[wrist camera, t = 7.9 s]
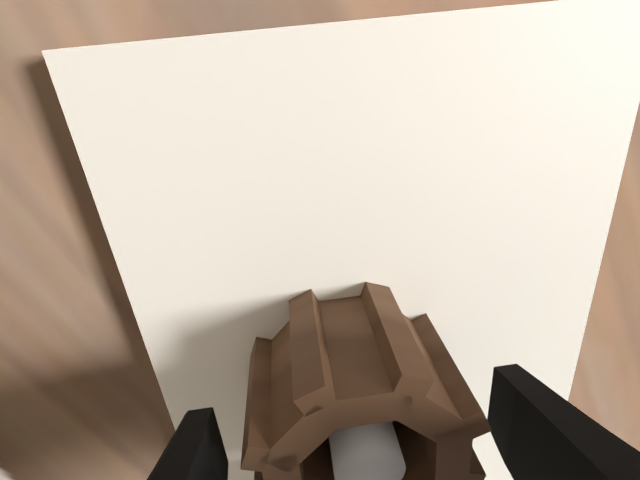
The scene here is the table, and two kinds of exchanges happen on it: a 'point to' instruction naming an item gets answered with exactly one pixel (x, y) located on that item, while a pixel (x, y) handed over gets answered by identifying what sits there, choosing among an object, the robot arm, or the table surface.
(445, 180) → the gear board
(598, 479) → the robot arm
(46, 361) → the table surface
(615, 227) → the table surface
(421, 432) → the walnut gear
